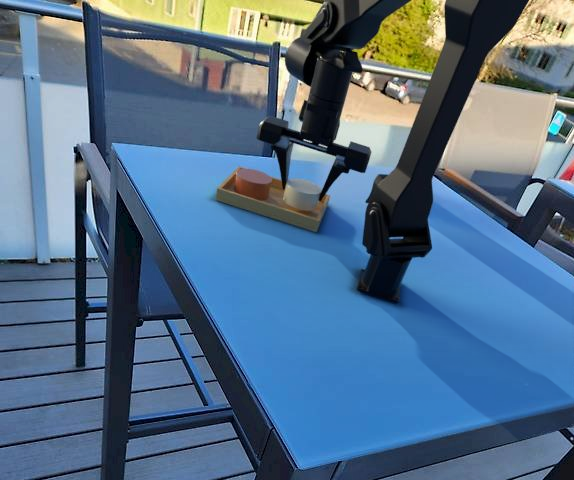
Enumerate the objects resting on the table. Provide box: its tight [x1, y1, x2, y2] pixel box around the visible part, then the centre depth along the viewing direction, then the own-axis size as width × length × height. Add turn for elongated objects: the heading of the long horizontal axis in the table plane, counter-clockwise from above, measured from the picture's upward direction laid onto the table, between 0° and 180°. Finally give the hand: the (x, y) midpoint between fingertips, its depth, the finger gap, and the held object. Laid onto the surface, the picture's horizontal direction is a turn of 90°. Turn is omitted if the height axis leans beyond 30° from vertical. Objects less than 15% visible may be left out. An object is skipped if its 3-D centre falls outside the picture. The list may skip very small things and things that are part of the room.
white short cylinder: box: [283, 178, 322, 211], centre depth 86 cm, size 6×6×3 cm
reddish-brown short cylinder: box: [234, 168, 272, 200], centre depth 87 cm, size 6×6×3 cm
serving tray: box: [215, 166, 331, 233], centre depth 88 cm, size 13×18×2 cm
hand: (302, 194), depth 86 cm, fingers closed on white short cylinder, 6 cm apart
